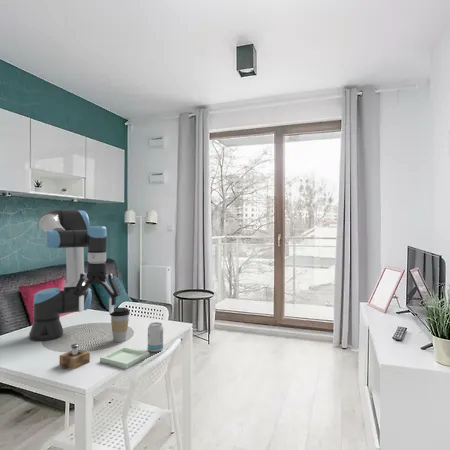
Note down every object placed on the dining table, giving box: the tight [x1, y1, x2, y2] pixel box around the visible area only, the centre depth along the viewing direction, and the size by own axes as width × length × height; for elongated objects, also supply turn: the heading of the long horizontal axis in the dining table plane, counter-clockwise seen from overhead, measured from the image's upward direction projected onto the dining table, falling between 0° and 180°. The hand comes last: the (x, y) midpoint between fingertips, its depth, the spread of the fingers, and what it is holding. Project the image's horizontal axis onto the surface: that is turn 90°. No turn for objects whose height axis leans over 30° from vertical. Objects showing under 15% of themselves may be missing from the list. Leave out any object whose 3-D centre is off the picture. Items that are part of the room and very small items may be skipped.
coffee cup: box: [109, 307, 131, 343], centre depth 168 cm, size 9×9×15 cm
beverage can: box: [147, 321, 164, 354], centre depth 155 cm, size 7×7×12 cm
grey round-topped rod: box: [70, 343, 80, 357], centre depth 140 cm, size 3×3×8 cm
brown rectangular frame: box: [58, 349, 91, 370], centre depth 139 cm, size 10×8×4 cm
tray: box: [99, 346, 150, 370], centre depth 145 cm, size 14×14×2 cm
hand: (96, 312), depth 146 cm, fingers open, 13 cm apart
